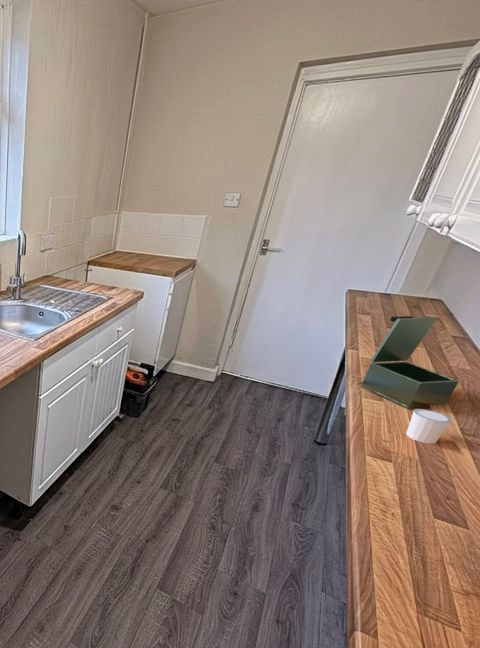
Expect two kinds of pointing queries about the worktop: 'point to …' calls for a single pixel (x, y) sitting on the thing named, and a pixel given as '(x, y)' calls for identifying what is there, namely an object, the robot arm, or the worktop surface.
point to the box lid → (403, 338)
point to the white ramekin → (427, 426)
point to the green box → (408, 384)
